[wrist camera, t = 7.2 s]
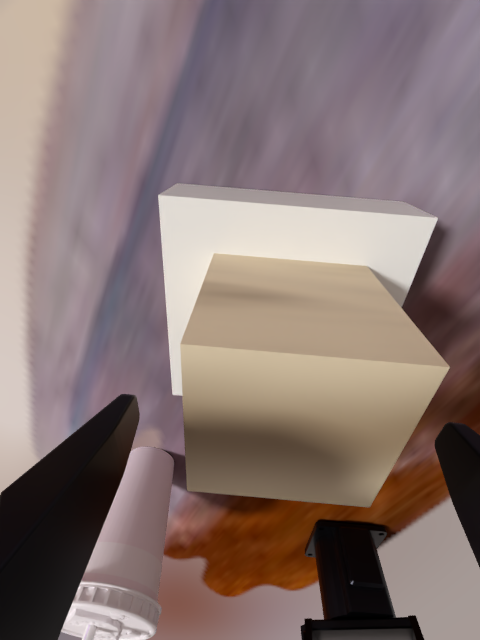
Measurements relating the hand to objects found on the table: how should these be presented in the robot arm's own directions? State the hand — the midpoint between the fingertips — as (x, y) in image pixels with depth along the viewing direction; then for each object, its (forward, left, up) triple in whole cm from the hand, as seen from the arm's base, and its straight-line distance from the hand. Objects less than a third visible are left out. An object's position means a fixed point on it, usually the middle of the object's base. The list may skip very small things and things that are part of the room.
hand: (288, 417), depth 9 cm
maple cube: (0, 0, -5) cm, 5 cm away
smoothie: (-16, +8, -8) cm, 20 cm away
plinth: (0, 0, -8) cm, 8 cm away
